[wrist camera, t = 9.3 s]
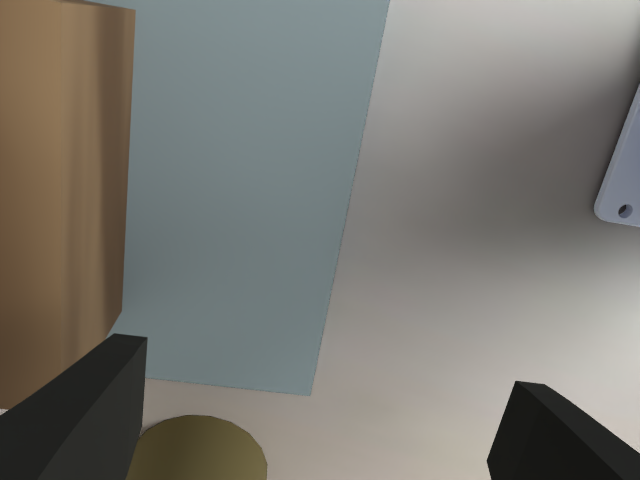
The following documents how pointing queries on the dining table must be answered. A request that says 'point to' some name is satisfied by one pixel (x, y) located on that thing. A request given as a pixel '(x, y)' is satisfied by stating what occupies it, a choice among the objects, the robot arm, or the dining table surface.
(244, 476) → the cork
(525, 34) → the dining table surface
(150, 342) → the shelf board
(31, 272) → the brown box
